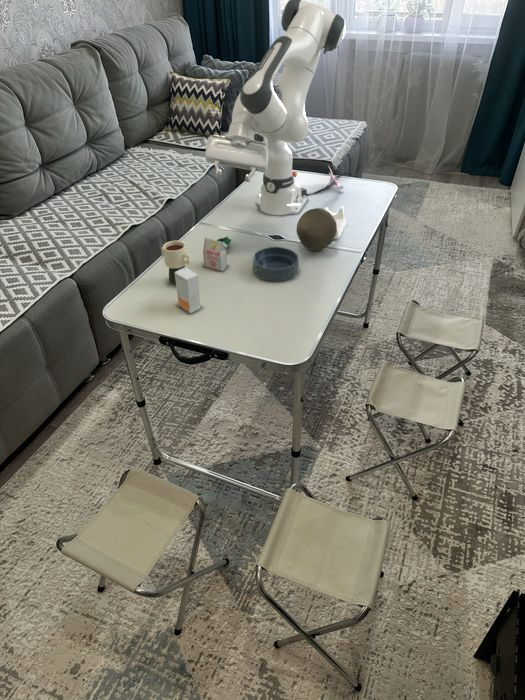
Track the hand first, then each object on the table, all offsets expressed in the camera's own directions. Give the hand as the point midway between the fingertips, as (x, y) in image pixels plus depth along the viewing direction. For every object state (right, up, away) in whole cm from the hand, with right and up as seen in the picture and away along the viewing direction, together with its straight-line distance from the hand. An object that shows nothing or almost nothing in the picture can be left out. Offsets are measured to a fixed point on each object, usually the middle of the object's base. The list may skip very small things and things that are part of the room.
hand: (232, 178), depth 161 cm
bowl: (+14, -28, +10) cm, 33 cm away
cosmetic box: (-13, -42, -6) cm, 44 cm away
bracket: (+36, -10, +33) cm, 49 cm away
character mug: (-18, -32, +5) cm, 37 cm away
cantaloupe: (+28, -19, +22) cm, 40 cm away
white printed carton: (-7, -26, +12) cm, 30 cm away
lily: (+41, +16, +64) cm, 77 cm away
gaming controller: (-5, -19, +22) cm, 29 cm away
